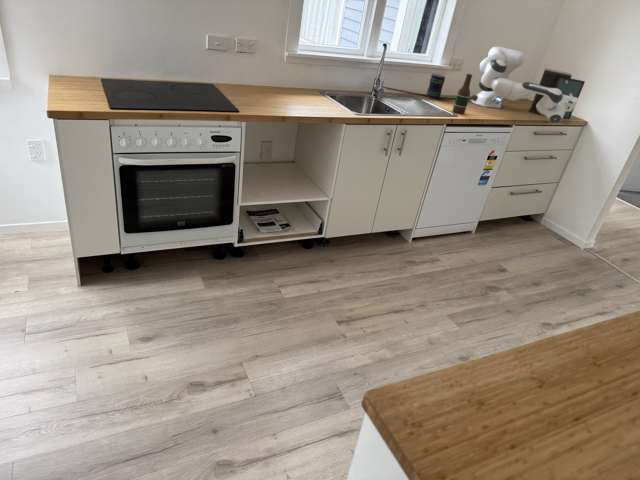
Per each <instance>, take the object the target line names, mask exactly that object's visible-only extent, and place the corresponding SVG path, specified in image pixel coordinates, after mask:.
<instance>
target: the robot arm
mask: <svg viewBox="0 0 640 480" xmlns="http://www.w3.org/2000/svg"><path fill="white" fill-rule="evenodd" d="M525 60H526V56H525V53H524V52H522V51H520V50H517V49H513V48H508V47H505V46H493V47H491V48H490V50H488V53H487V56H486V57H485V58H484V59H483V60H482V61H481V62H480V63H479V71H480V72H481V73H483V74H482V76H481V78H480V79H479V82H478V87H479V89H480V90H482V91H480V92H479V93H477V94H472V96H470V97H469V100H470V99H471V101H470V102H471V103H473V104H475V105H478V106H481V107H483V108H484V107H485V108H496V109H501V108H502V102H503V98H504V99H506V100H509V101H517V100H520V99H522V98H523V97H524V96H526V95H529V94H536V93H537V94H540V95H544V97H543V98H542V99H541V100H540V101H539V102H538V103H537V104H536V110H537V112H538V113H539V114H538V115H540V116H543V117H546V118H547V119H548V121H549V122H550V123H553V124H557V123H560V122H561V121H562V120H563V119H564V118H563V116H564V114H565V111H569V112H571V111H572V110H573V108H574V109H575V107H576V105H577V104H578V102H579V97H578V98H576V97H573V96H572V93H569V96H567V95H563V94H562V91H561V90H560V89H558V88H551V87H546V86H542V85H539V84H540V83H539V84H538V83H534V82H530V81H524V82H517V81H513V80H511V79H509V76H510V75H511V74H512V73H513V72H514V71H515V70H516V69H518V68H520V67H521V66H523V64H524V63H525ZM383 89H387V90H393V91H398V92H403V93H407V94H413V95H419V96H424V97H427V94H425V93H419V92H414V91H408V90H402V89H398V88H392V87H388V86H383ZM440 99H445V100H447V99H448V100H456V97H446V96H440ZM573 111H574V110H573Z"/></svg>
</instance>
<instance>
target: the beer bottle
mask: <svg viewBox="0 0 640 480" xmlns="http://www.w3.org/2000/svg"><path fill="white" fill-rule="evenodd" d="M472 78H473V74H471V73H466V75H465V79H464V81H463V84H462V86H461V87H460V88H459V89H458V91H457V93H456V97H455V98H456V99H454V104H453V106H452V112H453V113H454V114H458V115H464V114H465V112H466V110H467V107H468V104H469V100H470V99H469V98H471V90H470V85H471V82H472Z"/></svg>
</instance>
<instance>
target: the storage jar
mask: <svg viewBox="0 0 640 480" xmlns="http://www.w3.org/2000/svg"><path fill="white" fill-rule="evenodd" d="M445 80H446V76H445V75H442V74H437V73H431V76H430V78H429V84H428V87H427V90H426V95H427V96H426V97H427V98H429V99H433V100H440V99H441V98H440V97H441V96H442V90H443V86H444V83H445Z"/></svg>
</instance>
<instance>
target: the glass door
mask: <svg viewBox="0 0 640 480" xmlns="http://www.w3.org/2000/svg"><path fill="white" fill-rule="evenodd" d="M585 83H586V81H585V80H581V79H576V78H572V77H571V78H567V77H562V76H559V78H558V80H557V83H556V86H555V88H558V89H560V90H561V91H562V94H563V95H567V96H569V93H572V96H573V97H576V98H578V99H579V97H580V95H581V93H582V90H583V87H584V85H585ZM574 109H575V107H574V108H573V110H572V111H571V112H569V111H565V114H564V116H563V118H562V119H566V120H570V119H571V116H572V114H573V112H574Z"/></svg>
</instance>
